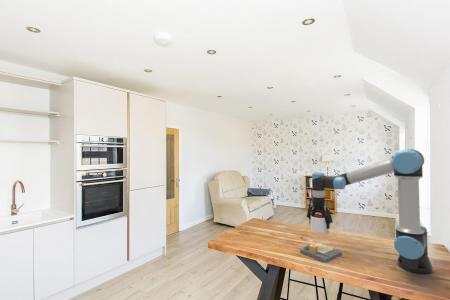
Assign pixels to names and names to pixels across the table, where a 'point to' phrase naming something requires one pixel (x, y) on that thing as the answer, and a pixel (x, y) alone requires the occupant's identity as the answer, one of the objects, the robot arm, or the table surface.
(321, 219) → the cup
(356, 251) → the table surface
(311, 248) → the toggle
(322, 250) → the gray square tray
